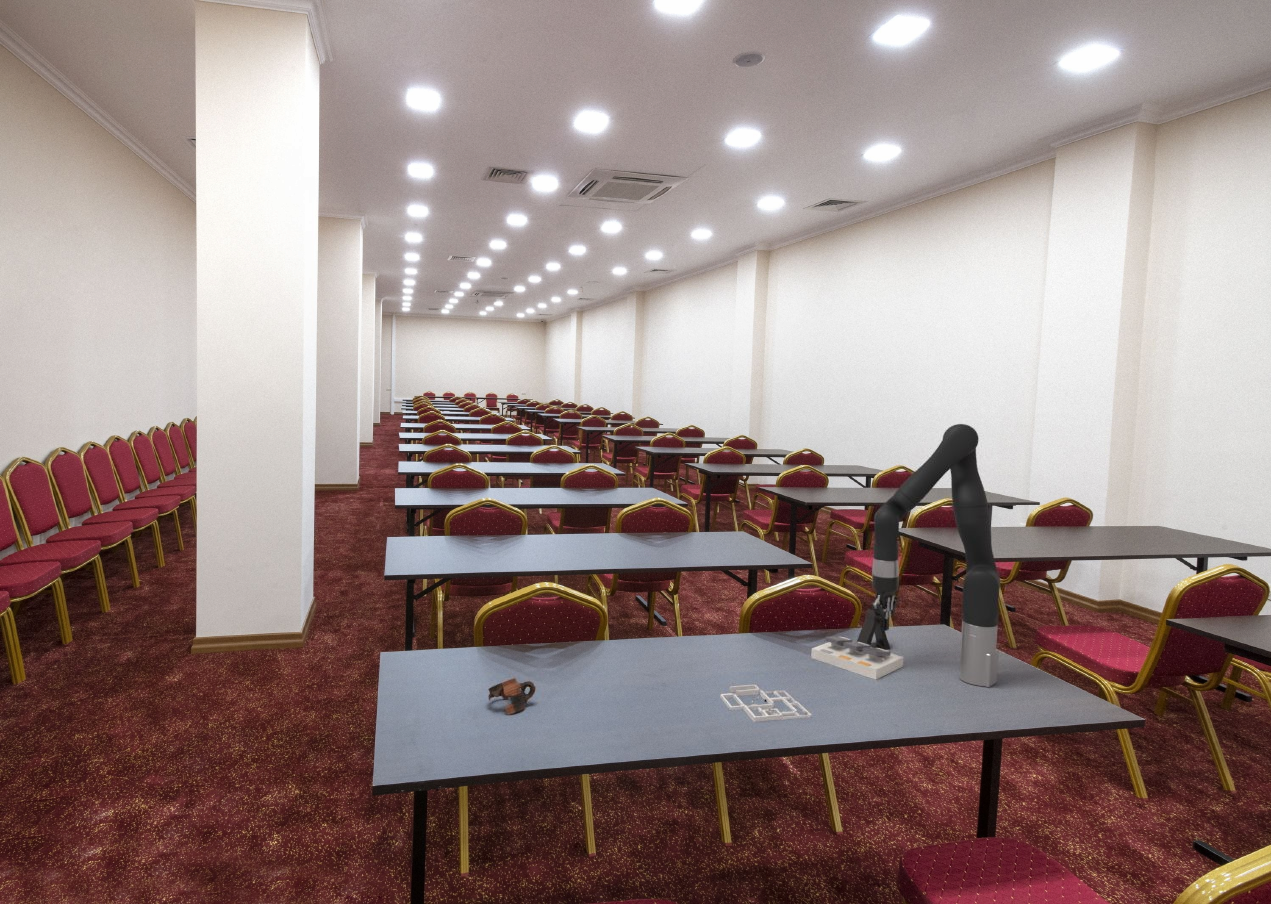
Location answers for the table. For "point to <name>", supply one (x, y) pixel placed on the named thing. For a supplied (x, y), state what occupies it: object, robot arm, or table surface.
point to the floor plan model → (766, 715)
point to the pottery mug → (513, 694)
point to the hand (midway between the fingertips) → (884, 629)
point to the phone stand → (870, 628)
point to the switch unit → (857, 660)
